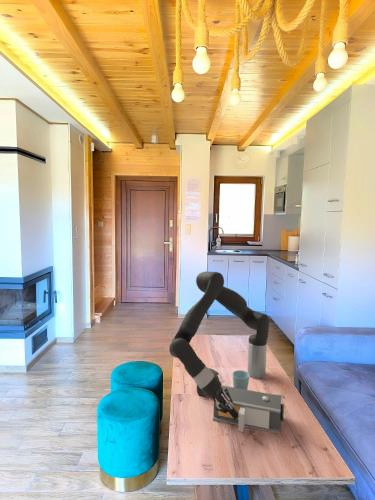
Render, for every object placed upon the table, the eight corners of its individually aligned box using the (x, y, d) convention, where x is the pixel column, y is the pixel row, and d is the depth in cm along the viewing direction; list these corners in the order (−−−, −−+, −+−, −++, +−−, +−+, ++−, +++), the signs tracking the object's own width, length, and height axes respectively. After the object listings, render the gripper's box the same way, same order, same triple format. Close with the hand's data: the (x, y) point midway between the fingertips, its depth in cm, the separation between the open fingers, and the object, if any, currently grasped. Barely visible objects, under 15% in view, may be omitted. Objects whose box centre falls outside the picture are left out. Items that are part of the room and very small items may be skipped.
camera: (216, 398, 143) (217, 377, 142) (195, 395, 146) (195, 375, 145) (220, 384, 156) (220, 364, 155) (200, 381, 158) (201, 362, 157)
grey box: (218, 404, 139) (219, 383, 138) (283, 417, 130) (284, 394, 129) (212, 420, 128) (213, 397, 127) (282, 434, 120) (283, 410, 119)
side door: (240, 421, 126) (240, 405, 125) (268, 427, 122) (269, 410, 121) (238, 431, 120) (238, 413, 119) (267, 437, 117) (268, 419, 116)
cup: (235, 401, 141) (236, 379, 140) (229, 392, 149) (229, 371, 148) (251, 399, 143) (252, 377, 142) (244, 390, 150) (245, 369, 149)
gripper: (209, 384, 116) (242, 422, 113) (217, 368, 128) (246, 402, 126) (195, 395, 118) (226, 433, 115) (204, 378, 131) (233, 412, 128)
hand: (237, 417), depth 121 cm, fingers closed
